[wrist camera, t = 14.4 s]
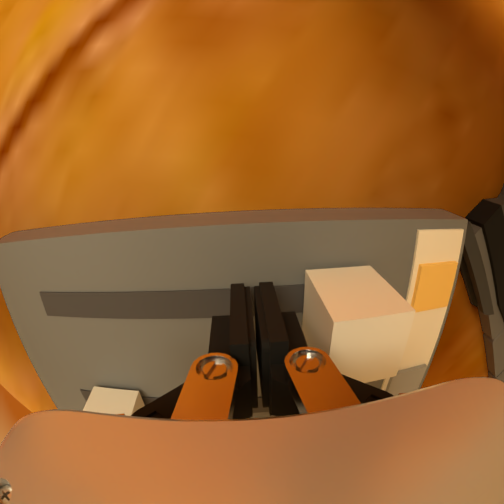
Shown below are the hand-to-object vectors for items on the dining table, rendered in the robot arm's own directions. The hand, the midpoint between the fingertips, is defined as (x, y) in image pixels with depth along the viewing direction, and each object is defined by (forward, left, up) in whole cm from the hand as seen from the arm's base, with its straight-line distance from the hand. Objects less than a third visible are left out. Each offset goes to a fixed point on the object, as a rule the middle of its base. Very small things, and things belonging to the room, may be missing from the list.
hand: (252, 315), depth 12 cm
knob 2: (0, +4, -1) cm, 4 cm away
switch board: (+7, -2, -4) cm, 8 cm away
